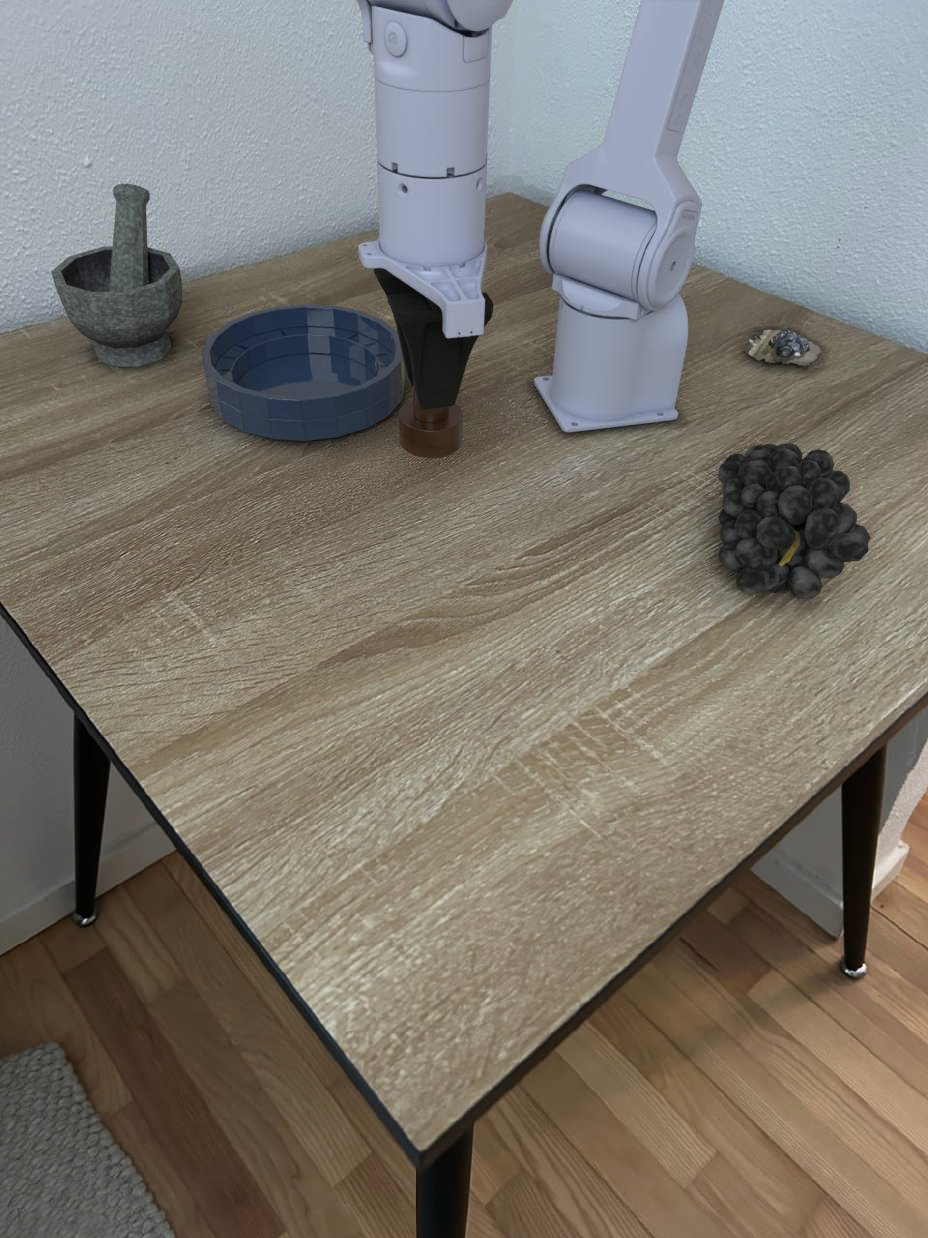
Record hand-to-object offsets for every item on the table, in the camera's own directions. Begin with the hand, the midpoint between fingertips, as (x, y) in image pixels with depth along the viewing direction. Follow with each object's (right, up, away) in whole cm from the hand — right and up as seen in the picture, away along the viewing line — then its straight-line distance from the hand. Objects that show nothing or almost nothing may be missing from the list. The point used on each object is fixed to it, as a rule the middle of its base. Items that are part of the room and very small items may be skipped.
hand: (431, 392), depth 60 cm
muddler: (0, -3, +2) cm, 3 cm away
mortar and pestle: (-26, +9, +23) cm, 36 cm away
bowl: (-10, +4, +18) cm, 21 cm away
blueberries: (+30, +9, +25) cm, 40 cm away
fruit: (+22, -9, +5) cm, 25 cm away
